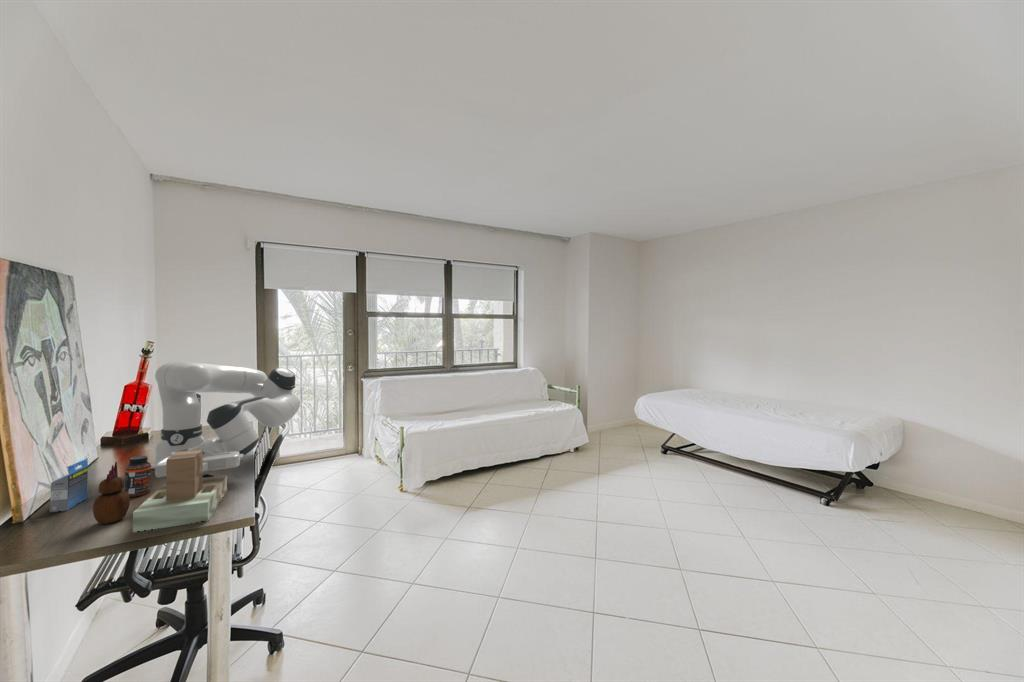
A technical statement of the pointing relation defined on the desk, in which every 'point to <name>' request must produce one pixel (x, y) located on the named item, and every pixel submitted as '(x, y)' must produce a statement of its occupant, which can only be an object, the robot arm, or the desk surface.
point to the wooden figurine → (111, 499)
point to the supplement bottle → (138, 476)
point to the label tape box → (69, 488)
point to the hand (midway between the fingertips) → (193, 471)
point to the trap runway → (180, 506)
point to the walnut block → (184, 475)
